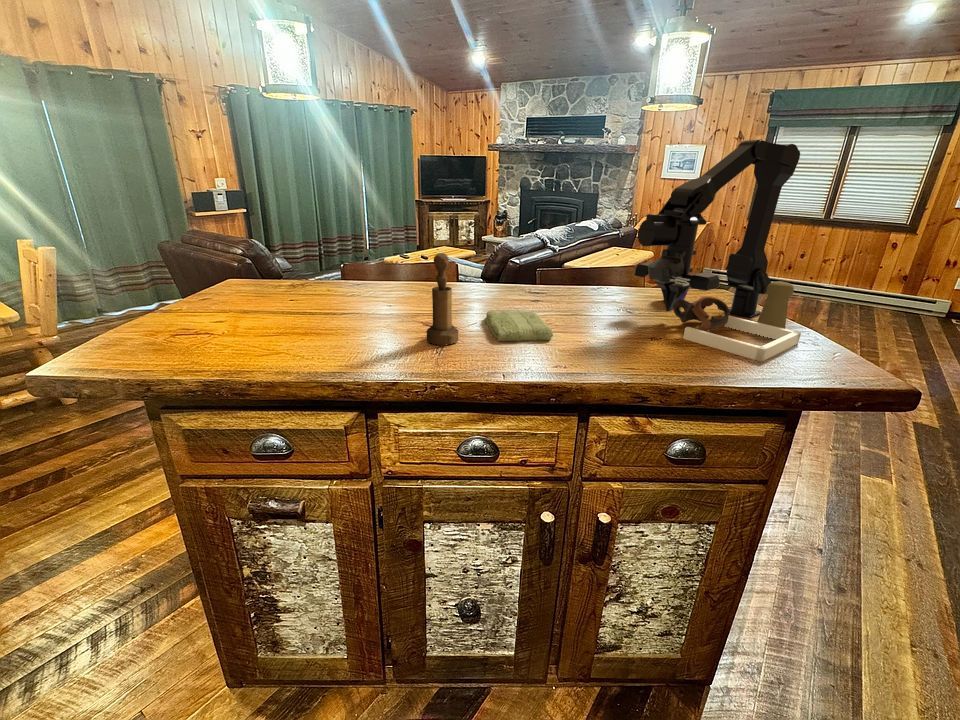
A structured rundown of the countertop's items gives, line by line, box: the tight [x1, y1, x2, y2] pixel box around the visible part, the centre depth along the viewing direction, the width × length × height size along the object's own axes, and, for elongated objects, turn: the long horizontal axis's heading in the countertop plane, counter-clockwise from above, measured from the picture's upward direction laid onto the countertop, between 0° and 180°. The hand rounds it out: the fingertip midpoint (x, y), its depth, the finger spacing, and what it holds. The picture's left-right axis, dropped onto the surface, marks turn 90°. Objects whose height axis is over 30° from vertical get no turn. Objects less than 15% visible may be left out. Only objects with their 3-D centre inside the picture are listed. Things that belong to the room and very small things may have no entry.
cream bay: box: [683, 314, 802, 363], centre depth 100 cm, size 17×16×2 cm
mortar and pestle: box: [426, 252, 459, 346], centre depth 95 cm, size 7×6×18 cm
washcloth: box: [484, 310, 554, 342], centre depth 105 cm, size 13×18×3 cm
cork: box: [756, 280, 795, 329], centre depth 107 cm, size 6×6×11 cm
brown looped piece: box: [672, 296, 731, 332], centre depth 108 cm, size 12×10×8 cm
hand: (668, 311), depth 112 cm, fingers closed
